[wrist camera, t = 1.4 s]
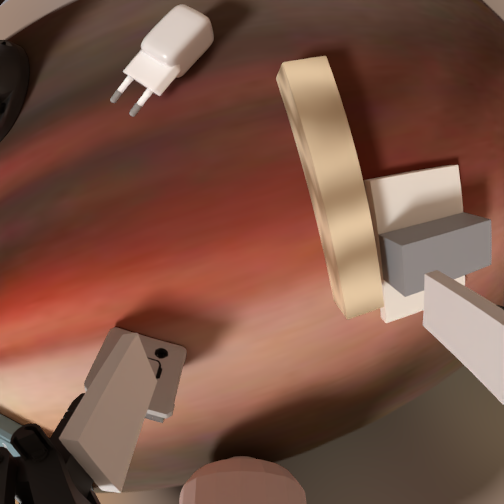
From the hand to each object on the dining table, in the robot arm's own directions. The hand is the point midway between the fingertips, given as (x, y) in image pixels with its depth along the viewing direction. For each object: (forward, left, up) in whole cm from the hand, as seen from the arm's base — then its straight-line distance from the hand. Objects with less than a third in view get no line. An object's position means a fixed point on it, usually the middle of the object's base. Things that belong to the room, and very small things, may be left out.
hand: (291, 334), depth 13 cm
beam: (-4, +8, -19) cm, 21 cm away
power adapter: (-19, -5, -19) cm, 27 cm away
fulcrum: (+4, +18, -19) cm, 26 cm away
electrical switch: (+10, -16, -19) cm, 27 cm away
